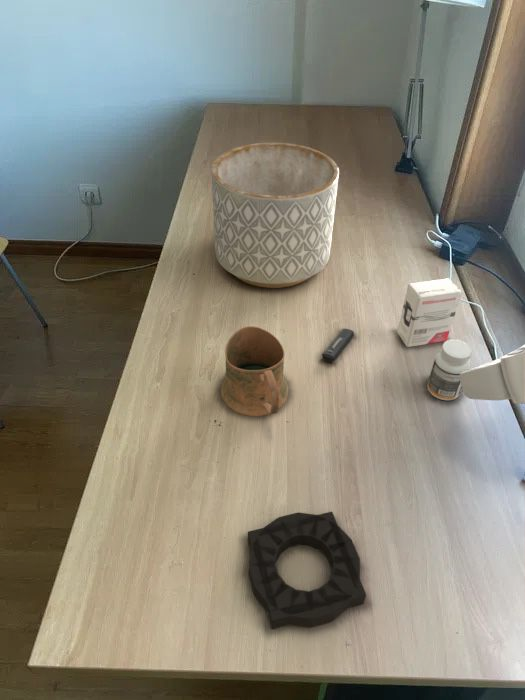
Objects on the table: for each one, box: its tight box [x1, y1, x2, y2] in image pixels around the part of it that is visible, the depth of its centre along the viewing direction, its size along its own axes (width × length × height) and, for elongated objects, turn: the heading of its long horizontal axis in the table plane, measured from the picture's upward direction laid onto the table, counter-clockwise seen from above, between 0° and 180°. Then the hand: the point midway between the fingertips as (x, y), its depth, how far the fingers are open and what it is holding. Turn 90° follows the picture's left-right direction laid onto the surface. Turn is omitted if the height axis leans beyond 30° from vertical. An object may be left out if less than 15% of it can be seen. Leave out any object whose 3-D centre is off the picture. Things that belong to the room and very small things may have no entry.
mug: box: [220, 325, 289, 417], centre depth 91 cm, size 12×18×12 cm, turn 15°
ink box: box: [396, 277, 463, 348], centre depth 105 cm, size 8×5×12 cm, turn 104°
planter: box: [211, 142, 340, 289], centre depth 120 cm, size 26×26×22 cm
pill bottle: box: [427, 338, 473, 401], centre depth 95 cm, size 6×6×10 cm
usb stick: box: [321, 328, 355, 363], centre depth 106 cm, size 10×3×2 cm, turn 148°
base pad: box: [247, 511, 367, 630], centre depth 73 cm, size 14×14×2 cm
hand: (490, 367), depth 87 cm, fingers open, 8 cm apart
